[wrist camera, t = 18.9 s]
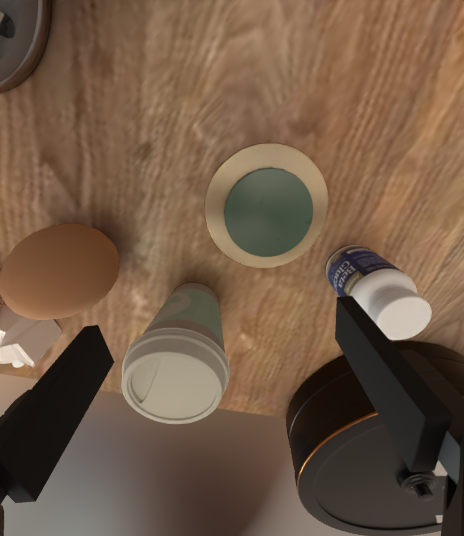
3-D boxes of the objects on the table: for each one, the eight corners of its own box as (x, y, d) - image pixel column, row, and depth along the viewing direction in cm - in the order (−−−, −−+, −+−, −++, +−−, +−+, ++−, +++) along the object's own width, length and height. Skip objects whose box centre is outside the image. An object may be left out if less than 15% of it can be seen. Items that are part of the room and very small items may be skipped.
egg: (70, 279, 28) (-19, 346, 18) (53, 211, 25) (-65, 247, 15) (137, 281, 28) (86, 349, 18) (129, 214, 25) (61, 252, 15)
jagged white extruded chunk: (18, 352, 32) (-30, 398, 27) (-24, 314, 30) (-87, 357, 24) (68, 332, 31) (30, 377, 25) (29, 291, 28) (-23, 330, 22)
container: (249, 495, 28) (245, 413, 37) (379, 571, 37) (351, 490, 45) (513, 364, 20) (427, 300, 29) (602, 500, 28) (514, 418, 37)
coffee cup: (200, 257, 27) (179, 324, 16) (244, 311, 30) (251, 401, 19) (142, 296, 29) (88, 380, 18) (188, 344, 32) (166, 442, 21)
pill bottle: (326, 244, 27) (374, 289, 18) (377, 242, 26) (452, 285, 17) (322, 289, 29) (362, 349, 20) (369, 287, 29) (431, 346, 20)
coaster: (195, 152, 23) (194, 152, 22) (327, 135, 22) (331, 134, 22) (214, 270, 28) (214, 274, 27) (324, 259, 27) (326, 261, 26)
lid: (308, 248, 26) (312, 253, 24) (229, 255, 26) (228, 261, 25) (310, 162, 23) (315, 162, 21) (219, 172, 23) (218, 173, 21)
